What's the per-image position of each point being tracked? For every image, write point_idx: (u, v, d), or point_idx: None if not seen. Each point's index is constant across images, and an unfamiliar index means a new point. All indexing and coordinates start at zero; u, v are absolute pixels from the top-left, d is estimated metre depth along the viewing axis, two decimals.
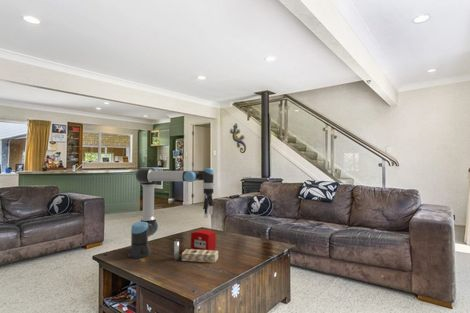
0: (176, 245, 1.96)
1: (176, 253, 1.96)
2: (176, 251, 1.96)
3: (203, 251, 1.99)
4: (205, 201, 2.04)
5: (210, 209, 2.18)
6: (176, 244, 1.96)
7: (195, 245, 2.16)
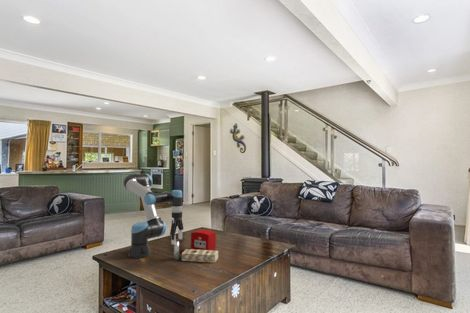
0: (176, 245, 1.96)
1: (176, 253, 1.96)
2: (176, 251, 1.96)
3: (203, 251, 1.99)
4: (172, 226, 1.90)
5: (180, 233, 2.04)
6: (176, 244, 1.96)
7: (195, 245, 2.16)
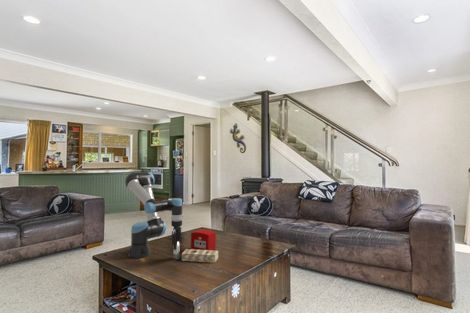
0: None
1: None
2: None
3: (203, 251, 1.99)
4: (173, 237, 1.93)
5: None
6: None
7: (195, 245, 2.16)
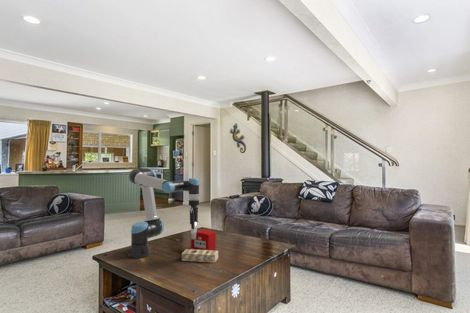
0: None
1: (193, 233, 1.97)
2: None
3: (203, 251, 1.99)
4: (191, 216, 1.93)
5: None
6: None
7: (195, 245, 2.16)
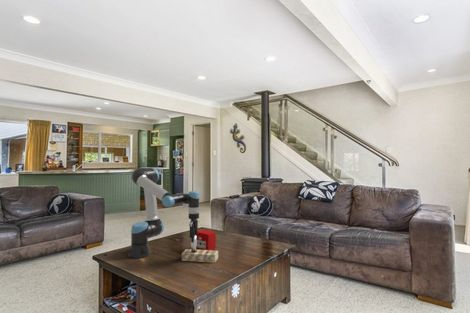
0: None
1: (193, 247, 1.97)
2: None
3: (203, 251, 1.99)
4: (191, 230, 1.93)
5: None
6: None
7: None
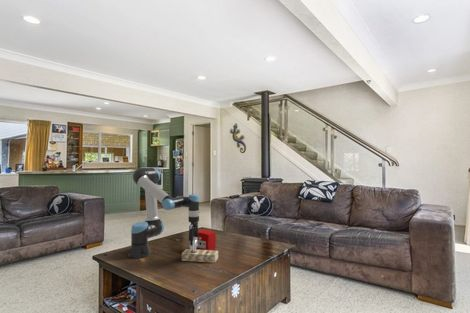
0: (194, 243, 1.96)
1: (193, 251, 1.96)
2: None
3: (203, 251, 1.99)
4: (190, 232, 1.92)
5: None
6: (194, 243, 1.96)
7: None
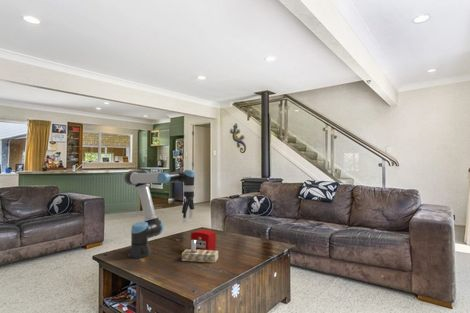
0: (193, 243, 1.97)
1: (193, 251, 1.97)
2: (193, 249, 1.97)
3: (203, 251, 1.99)
4: (184, 205, 1.94)
5: (190, 213, 2.08)
6: (193, 242, 1.97)
7: None
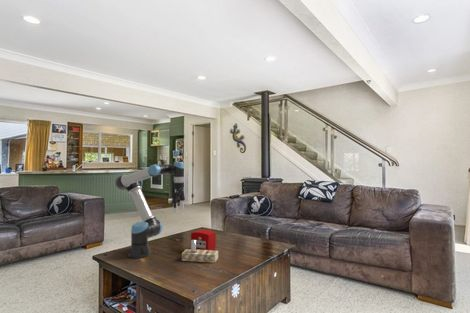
0: (193, 243, 1.97)
1: (193, 251, 1.97)
2: (193, 249, 1.97)
3: (203, 251, 1.99)
4: (174, 195, 2.00)
5: (181, 204, 2.14)
6: (193, 242, 1.97)
7: None
